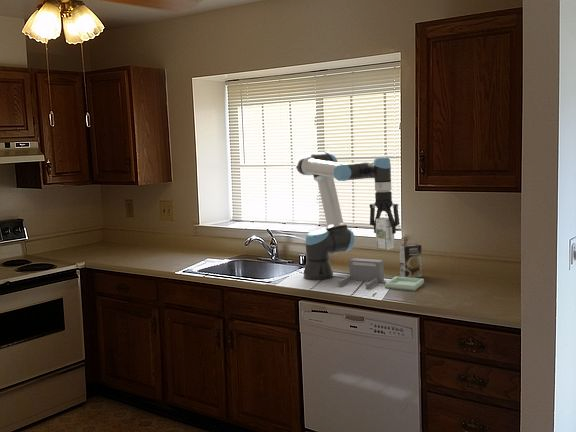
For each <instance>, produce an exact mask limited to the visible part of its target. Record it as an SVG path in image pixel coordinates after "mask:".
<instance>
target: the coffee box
mask: <svg viewBox="0 0 576 432" xmlns="http://www.w3.org/2000/svg"><path fill="white" fill-rule="evenodd" d="M422 252H423V251H422V245H421V244H419V243H407V244H406V243H405V244H400V245H399V277H408V278H422V277H423V268H422V267H423V266H422V265H423V263H422V256H423V255H422Z"/></svg>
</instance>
